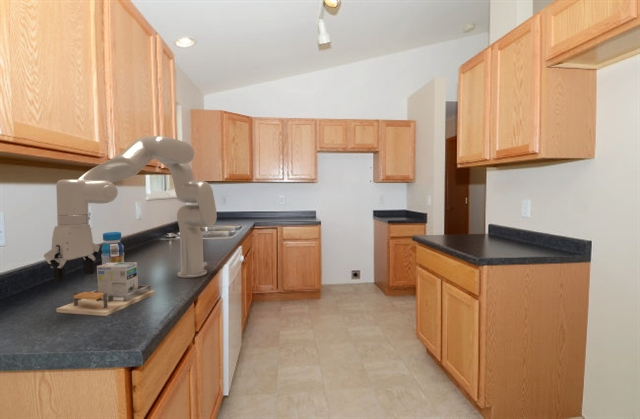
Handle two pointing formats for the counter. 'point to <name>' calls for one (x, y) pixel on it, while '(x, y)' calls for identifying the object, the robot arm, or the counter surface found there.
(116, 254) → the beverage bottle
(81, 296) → the latch plate
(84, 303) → the rail mount
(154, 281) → the counter surface
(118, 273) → the light bulb box
